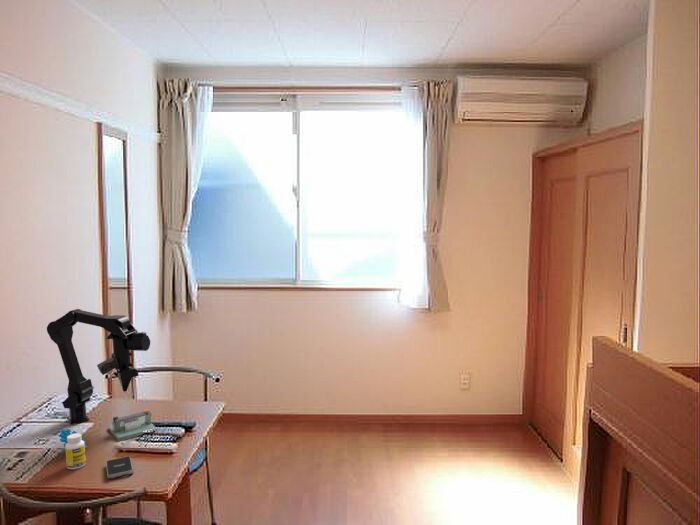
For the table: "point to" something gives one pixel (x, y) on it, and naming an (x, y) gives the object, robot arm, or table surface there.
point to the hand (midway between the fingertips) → (124, 391)
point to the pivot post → (116, 424)
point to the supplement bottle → (75, 451)
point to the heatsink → (131, 424)
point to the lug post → (148, 418)
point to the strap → (134, 415)
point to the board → (132, 433)
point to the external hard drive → (119, 468)
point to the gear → (64, 437)
